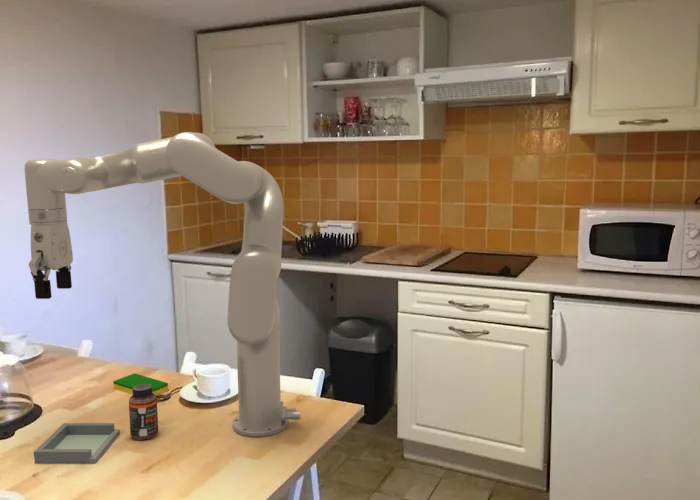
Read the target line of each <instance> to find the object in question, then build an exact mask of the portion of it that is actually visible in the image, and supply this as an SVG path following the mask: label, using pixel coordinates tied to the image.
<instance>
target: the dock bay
mask: <svg viewBox="0 0 700 500" xmlns="http://www.w3.org/2000/svg"><path fill="white" fill-rule="evenodd" d="M120 434H121V430H120V429H115V422H64V423H63V424H61V426H59V427H58V428H57V429H56V430H55V431H54V432H53V433H52V434H51V435H50V436H49V437H48V438H46V440H45V441H43V442H42V443H41V444H40V445H39V446H38V447H37V448H36V449H35V450H33V460H34V464H96V463H97V462H98V461H99V460H100V458H102V456H103V455H104V454H105V453H106V451H107V450H108V449H109V447H110V446H111V445H112V444H113V443H114V442H115V440H116V439H117V438H118V437H119V436H120Z"/></svg>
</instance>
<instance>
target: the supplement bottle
mask: <svg viewBox="0 0 700 500" xmlns="http://www.w3.org/2000/svg"><path fill="white" fill-rule="evenodd" d="M157 398H158V397H157V395H155V394H153V393H152V386H151V385H150V384H139V385H136V386H134V387H133V394H131V396H130V397H129V399H128V411H129V412H128V414H129V430H130V431H129V432H130V437H131V439H133V440H136V441H137V440H138V441H146V440H150V439H153V438H155V437H156V436H157V435H158V434H159V417H158V415H159V414H158V399H157Z"/></svg>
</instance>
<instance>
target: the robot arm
mask: <svg viewBox="0 0 700 500" xmlns="http://www.w3.org/2000/svg"><path fill="white" fill-rule="evenodd" d="M24 177H25V178H24V179H25V189H26V190H25V191H26V192H25V193H26V201H27V211H28V212H27V213H28V222H29V223H28V224H29V225H30V255H31V256H30V257H31V260H30V261H28V267H29V270H30V274H31V277H32V281H33V284H34V295H35V299H37V300H45V299H46V300H50V299H52V297H53V296H52V287H51V280H50V279H49V277H50V273H51V270H53V271H55V281H56V288H57V289H60V290H61V289H63V290H64V289H65V290H67V289H69V290H70V289H71V288H72V287H73V283H72V273H71V270H72V266H71V264H72V262H73V261H74V257H73V256H74V255H73V248H72V247H73V246H72V239H71V233H70V228H69V225H68V213H67V201H66V194H69V195H80V194H86V193H90V192H97V191H103V190H108V189H112V188H116V187H122V186H127V185H133V184H147V183H153V182H159V181H163V180H167V179H168V180H169V179H173V178H174V179H175V178H178V177H183V178H185V179H187V180H189V181H190V182H191V183H193V184H195V185H197V186H198V187H200V189H203V190H205V191H206V192H207V193H210V194H211V195H213V196H215V197H216V198H217V199H220V200H221V201H224V202H225V203H229V204H232V205H238V204H239V205H240V204H244V218H243V234H242V242H241V243H242V245H241V250H240V252H239V254H238V255H237V256H236V257H235V259H234V260H233V263H232V265H231V270H230V275H229V291H228V304H227V319H226V320H227V327H228V331H229V333H230V334H231V335H230V336H232V337H233V338H234V340H236V360H237V361H236V366H237V369H236V371H237V391H238V392H237V393H238V394H237V395H238V397H237V398H238V415H237V416H236V417H234V419H233V420H232V423H231V424H232V430H234V431H235V433H238V434H240V435H242V436H246V437H255V438H258V437H267V436H272V435H275V434H277V433H280V432H282V431H283V430H285V429H286V428H287V427H288V425H289V420H294V421H297V420H298V421H299V420H301V411H300V410H297V407H289V408H288V407H286V406H284V400H283V401H281V363H280V359H281V358H280V357H281V353H280V350H281V349H280V347H281V345H280V340H281V339H280V337H281V334H280V331H281V329H280V327H281V309H280V305H279V301H278V299H277V298H276V291H277V290H276V288H277V287H276V286H277V279H278V278H279V276H280V273H281V270H282V247H283V230H284V229H283V228H284V199H283V195H282V191H281V188H280V186H279V183H278V182H277V181H276V179H275V178H274V176H272V174H271V173H270V172H269V171H267V170H266V169H265V168H263V167H261V166H260V165H258V164H256V163H254V162H252V161H247V160H239V161H238V160H236V159H235V158H233V157H232V156H229V155H228V154H226V153H224V152H223V151H221V150H220V149H218V148H216V145H215V143H214V142H213V140H212V139H211V138H210V137H209V136H207V135H205V134H203V133H202V132H194V131H193V132H192V131H184V132H180V133H177V134H176V135H174V136H171V137H165V138H161V139H156V140H155V139H154V140H149V141H146V142H145V141H144V142H139V143H136V144H133V145H132V146H131V147H130V148H128V149H126V150H121V151H118V152H115V153H114V152H113V153H109V154H103V155H99V156H94V157H93V156H91V157H77V158H76V157H75V158H74V157H73V158H67V159H66V158H65V159H60V160H58V159H52V158H49V159H48V158H47V159H45V158H44V159H41V158H39V159H30V160H27V161H26V162H25V164H24Z"/></svg>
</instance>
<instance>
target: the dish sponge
mask: <svg viewBox="0 0 700 500" xmlns="http://www.w3.org/2000/svg"><path fill="white" fill-rule="evenodd" d="M112 383H113V389H114V390H118V391H121V392H124V393H127V394H129V395H133V387H134V386H136V385H139V384H150V385H151V386H152V393H153V394H155V395H156V396H159V395H161V394H164V393H166V392H168V391H169V383H168V382H166V381H162V380H159V379H154V378H152V377H148V376H146V375H141V374H138V373H135V372H134V373H132V374H129V375H126V376H124V377H121V378H119V379H115V380H113V382H112Z"/></svg>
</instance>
